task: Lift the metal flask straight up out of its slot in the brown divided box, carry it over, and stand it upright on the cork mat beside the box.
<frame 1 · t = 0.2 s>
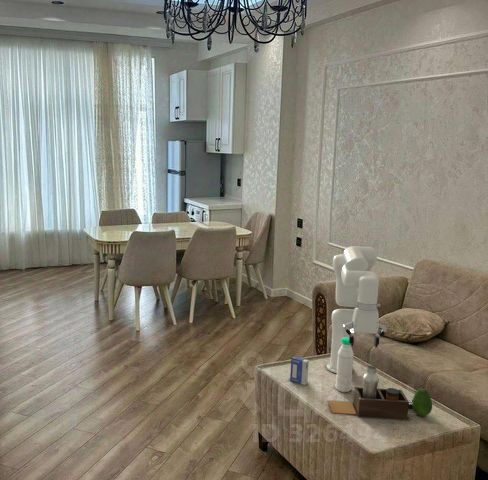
hand: (363, 345, 223), 31 cm above the table, tool pointing down, fingers open, 9 cm apart
brown divided box: (379, 411, 232), on the table
spice jar: (390, 412, 231), resting in brown divided box
metal flask: (368, 411, 232), resting in brown divided box
cork mat: (342, 408, 234), on the table
water bottle: (343, 389, 251), on the table
fruit: (421, 415, 229), on the table
walkman: (298, 382, 258), on the table
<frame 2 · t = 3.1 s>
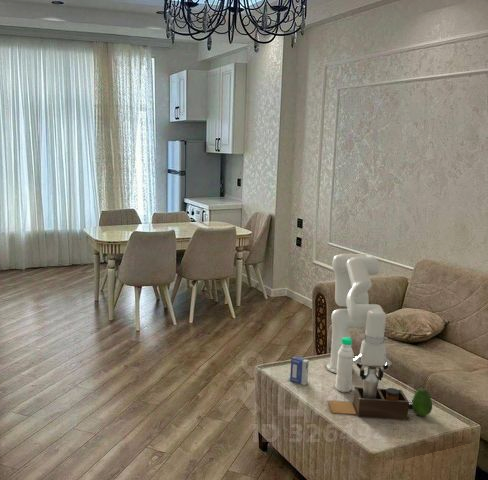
hand: (370, 378, 229), 15 cm above the table, tool pointing down, fingers closed on metal flask, 6 cm apart
metal flask: (368, 411, 232), resting in brown divided box, touching gripper
everything else where it was.
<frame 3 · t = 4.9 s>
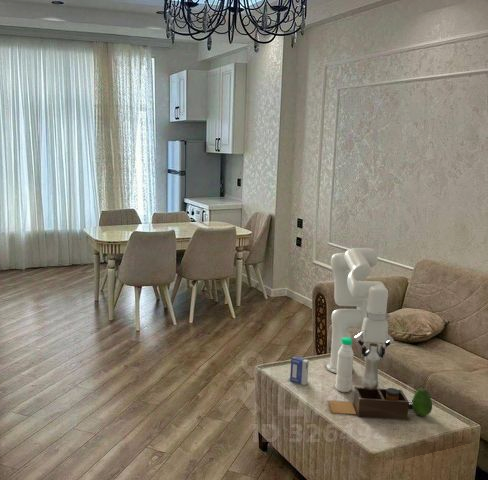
hand: (372, 355, 227), 25 cm above the table, tool pointing down, fingers closed on metal flask, 6 cm apart
metal flask: (369, 388, 231), point 10 cm above the table, touching gripper
everything else where it was.
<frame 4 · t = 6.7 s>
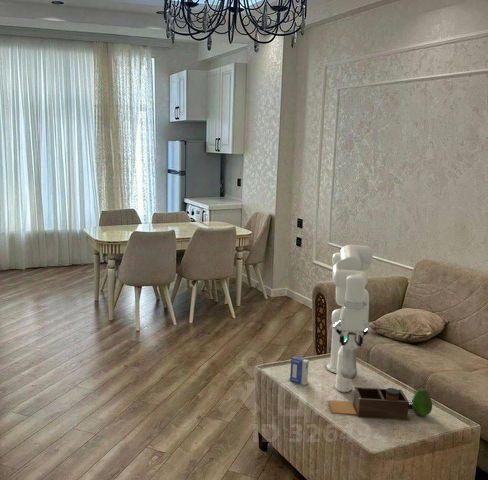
hand: (350, 344, 228), 30 cm above the table, tool pointing down, fingers closed on metal flask, 6 cm apart
metal flask: (348, 377, 231), point 14 cm above the table, touching gripper
everything else where it was.
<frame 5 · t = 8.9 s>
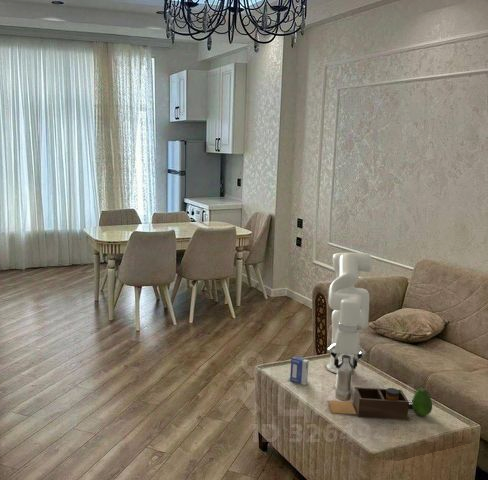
hand: (345, 367, 230), 19 cm above the table, tool pointing down, fingers closed on metal flask, 6 cm apart
metal flask: (342, 400, 233), point 4 cm above the table, touching gripper
everything else where it was.
when the fingers open (16 cm above the table, at t = 10.4 s): metal flask stays where it is, resting on cork mat.
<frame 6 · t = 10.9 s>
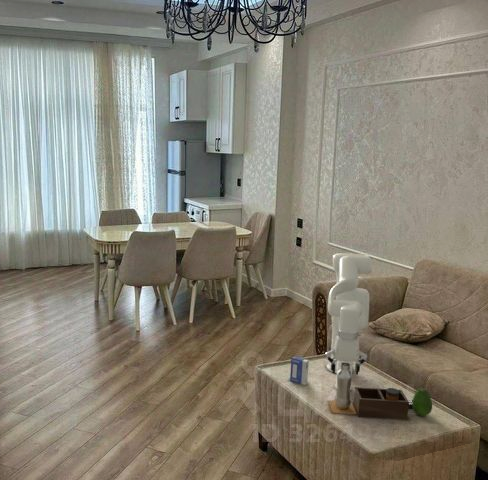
hand: (344, 372, 231), 17 cm above the table, tool pointing down, fingers open, 9 cm apart
metal flask: (342, 407, 234), resting on cork mat
everything else where it was.
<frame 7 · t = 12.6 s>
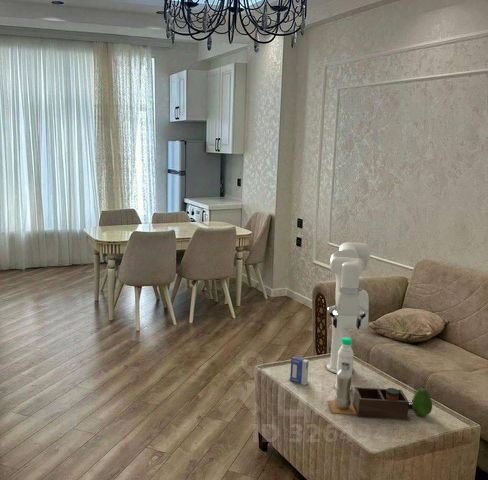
hand: (346, 327, 237), 33 cm above the table, tool pointing down, fingers open, 9 cm apart
nothing on the table moved.
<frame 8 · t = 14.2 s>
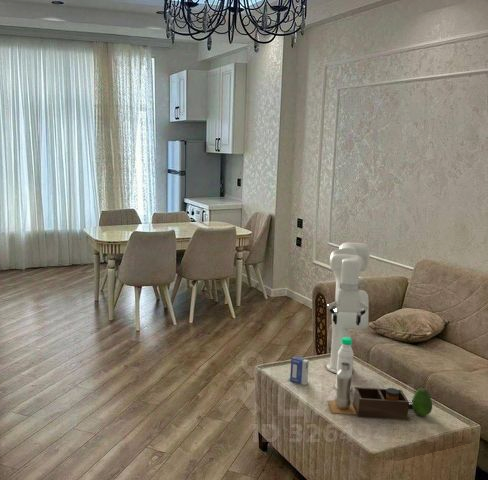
hand: (346, 323, 239), 34 cm above the table, tool pointing down, fingers open, 9 cm apart
nothing on the table moved.
at the end: metal flask inside the target area (0.1 cm from its centre), resting on cork mat; metal flask tilted 0°; the gripper is holding nothing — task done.
